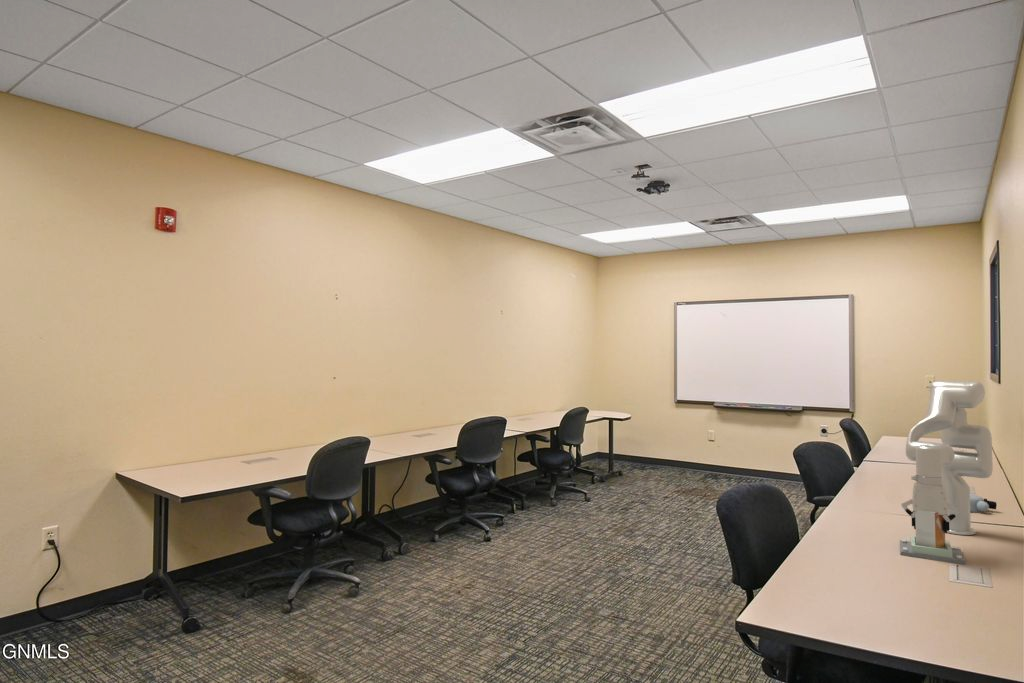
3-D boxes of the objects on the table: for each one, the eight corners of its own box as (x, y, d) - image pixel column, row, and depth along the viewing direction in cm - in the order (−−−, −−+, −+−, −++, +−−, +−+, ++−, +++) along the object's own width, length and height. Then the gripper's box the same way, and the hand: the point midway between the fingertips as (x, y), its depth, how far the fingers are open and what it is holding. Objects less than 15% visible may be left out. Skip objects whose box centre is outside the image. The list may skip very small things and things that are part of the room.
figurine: (941, 509, 265) (998, 520, 255) (943, 490, 265) (1000, 501, 254) (938, 501, 280) (991, 511, 269) (940, 484, 280) (993, 493, 269)
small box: (936, 551, 202) (935, 512, 202) (915, 546, 207) (914, 509, 207) (946, 546, 206) (945, 509, 207) (925, 542, 212) (924, 505, 212)
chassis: (899, 543, 218) (899, 533, 218) (960, 552, 208) (960, 541, 208) (900, 554, 205) (900, 544, 205) (965, 564, 195) (964, 553, 195)
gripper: (899, 479, 209) (900, 529, 208) (961, 485, 199) (962, 537, 199) (899, 476, 215) (900, 524, 215) (958, 481, 206) (960, 531, 205)
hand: (930, 530), depth 207 cm, fingers closed on small box, 8 cm apart
